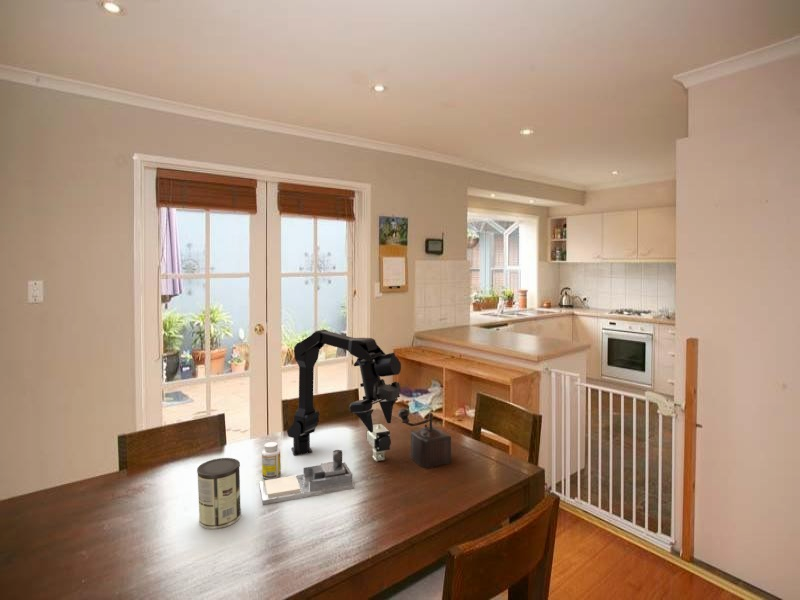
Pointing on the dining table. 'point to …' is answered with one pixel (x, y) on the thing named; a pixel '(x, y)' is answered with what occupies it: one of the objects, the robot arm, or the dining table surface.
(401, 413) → the pepper mill
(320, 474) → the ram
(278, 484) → the plate
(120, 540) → the dining table surface
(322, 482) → the press base
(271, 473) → the supplement bottle
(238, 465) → the coffee can
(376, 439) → the pneumatic valve
